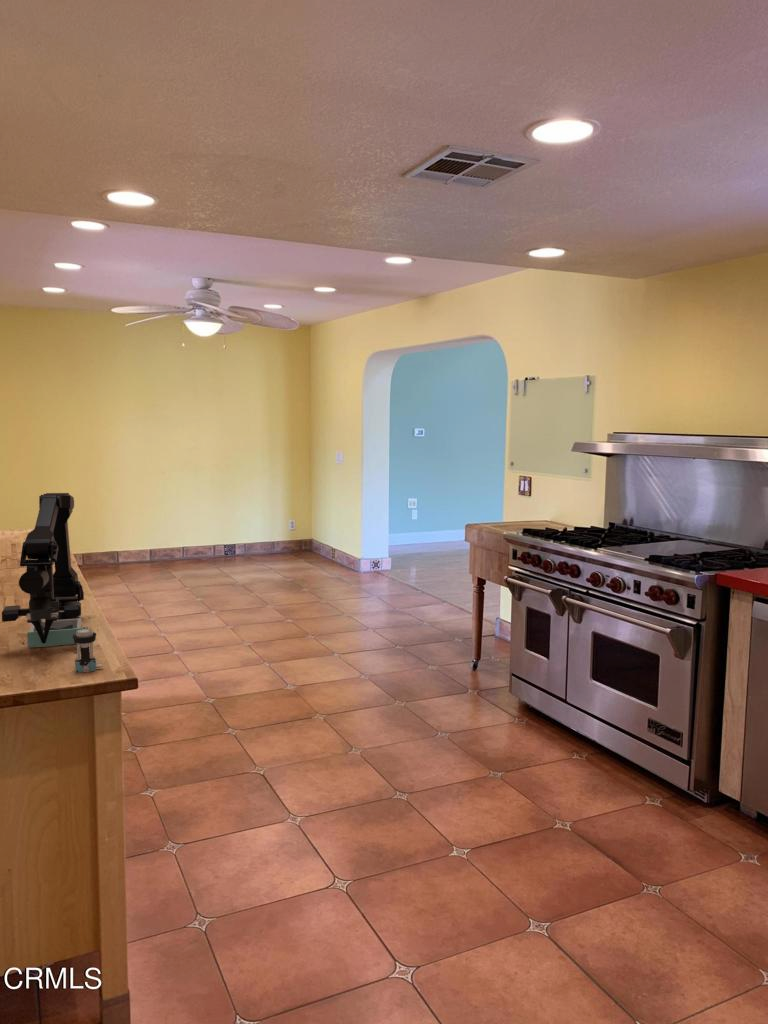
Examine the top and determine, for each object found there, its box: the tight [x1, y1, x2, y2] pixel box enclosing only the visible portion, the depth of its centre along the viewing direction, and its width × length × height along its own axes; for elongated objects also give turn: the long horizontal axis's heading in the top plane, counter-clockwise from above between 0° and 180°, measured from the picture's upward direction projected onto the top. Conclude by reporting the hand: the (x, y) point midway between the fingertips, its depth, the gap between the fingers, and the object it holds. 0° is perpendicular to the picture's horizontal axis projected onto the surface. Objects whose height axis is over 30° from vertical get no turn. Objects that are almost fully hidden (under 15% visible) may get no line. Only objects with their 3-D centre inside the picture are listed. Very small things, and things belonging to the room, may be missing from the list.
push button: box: [73, 628, 104, 674], centre depth 186 cm, size 7×5×10 cm
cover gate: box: [26, 628, 81, 648], centre depth 205 cm, size 1×13×4 cm, turn 110°
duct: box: [28, 617, 89, 632], centre depth 212 cm, size 17×15×4 cm
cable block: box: [36, 622, 73, 631], centre depth 212 cm, size 5×8×4 cm, turn 70°
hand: (44, 643), depth 201 cm, fingers closed
